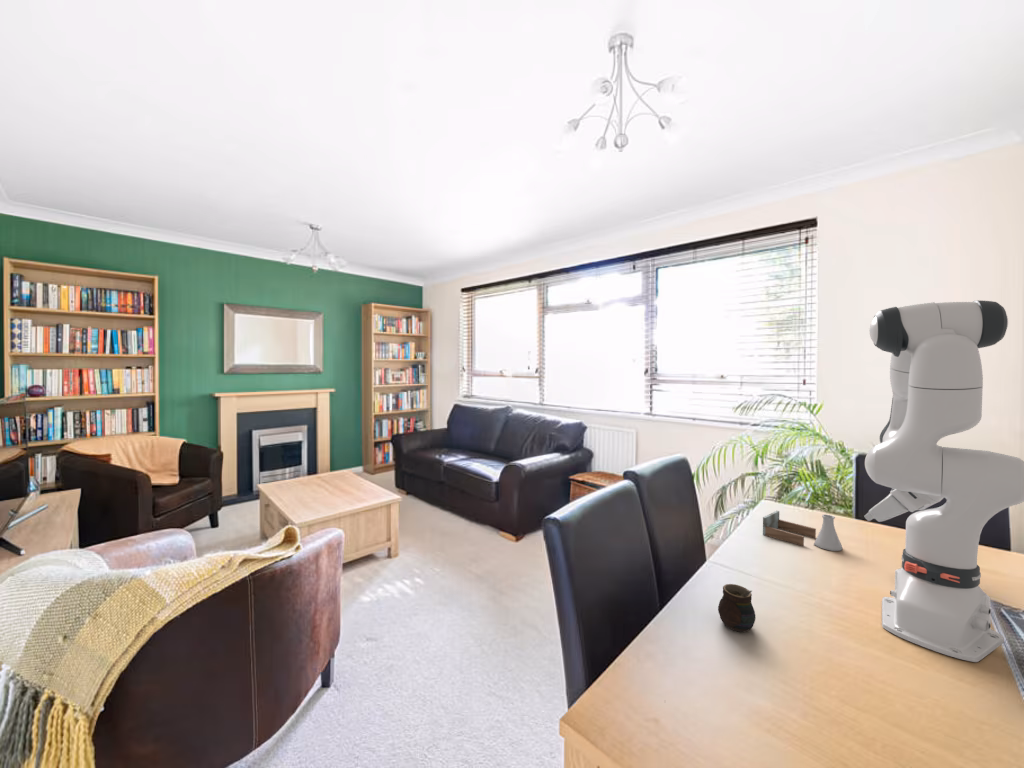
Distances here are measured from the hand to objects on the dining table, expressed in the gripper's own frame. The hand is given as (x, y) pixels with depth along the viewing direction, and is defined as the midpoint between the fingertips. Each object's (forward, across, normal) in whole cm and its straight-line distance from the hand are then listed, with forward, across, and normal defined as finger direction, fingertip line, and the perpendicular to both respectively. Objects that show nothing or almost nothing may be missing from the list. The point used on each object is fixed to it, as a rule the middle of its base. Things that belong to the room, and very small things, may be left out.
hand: (867, 517), depth 123 cm
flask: (+15, 0, +2) cm, 15 cm away
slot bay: (+23, +1, -6) cm, 24 cm away
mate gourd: (+13, +66, +3) cm, 68 cm away
